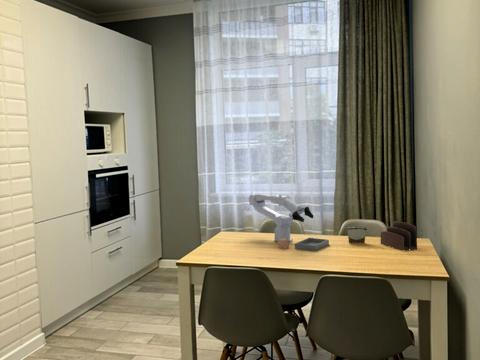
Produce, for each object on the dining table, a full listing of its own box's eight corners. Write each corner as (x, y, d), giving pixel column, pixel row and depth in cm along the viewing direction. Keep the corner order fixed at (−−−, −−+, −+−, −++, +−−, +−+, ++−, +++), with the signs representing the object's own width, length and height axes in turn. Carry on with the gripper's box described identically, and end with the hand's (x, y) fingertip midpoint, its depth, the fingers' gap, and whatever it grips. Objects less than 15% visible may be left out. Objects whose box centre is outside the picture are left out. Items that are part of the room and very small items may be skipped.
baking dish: (294, 248, 259) (294, 243, 259) (309, 242, 275) (309, 237, 274) (315, 251, 252) (315, 245, 251) (328, 244, 267) (328, 239, 267)
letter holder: (393, 242, 270) (393, 219, 269) (417, 249, 252) (417, 225, 251) (380, 244, 267) (380, 221, 266) (403, 251, 248) (403, 226, 247)
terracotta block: (278, 247, 262) (278, 239, 262) (281, 246, 266) (281, 238, 266) (284, 248, 260) (284, 240, 259) (288, 247, 263) (288, 238, 263)
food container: (365, 241, 275) (365, 225, 274) (367, 243, 269) (367, 227, 268) (345, 241, 276) (345, 225, 275) (346, 243, 270) (346, 227, 269)
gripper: (285, 205, 267) (300, 217, 258) (302, 198, 275) (318, 209, 266) (283, 215, 271) (298, 226, 262) (300, 208, 278) (316, 219, 269)
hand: (308, 218), depth 264 cm, fingers open, 7 cm apart
